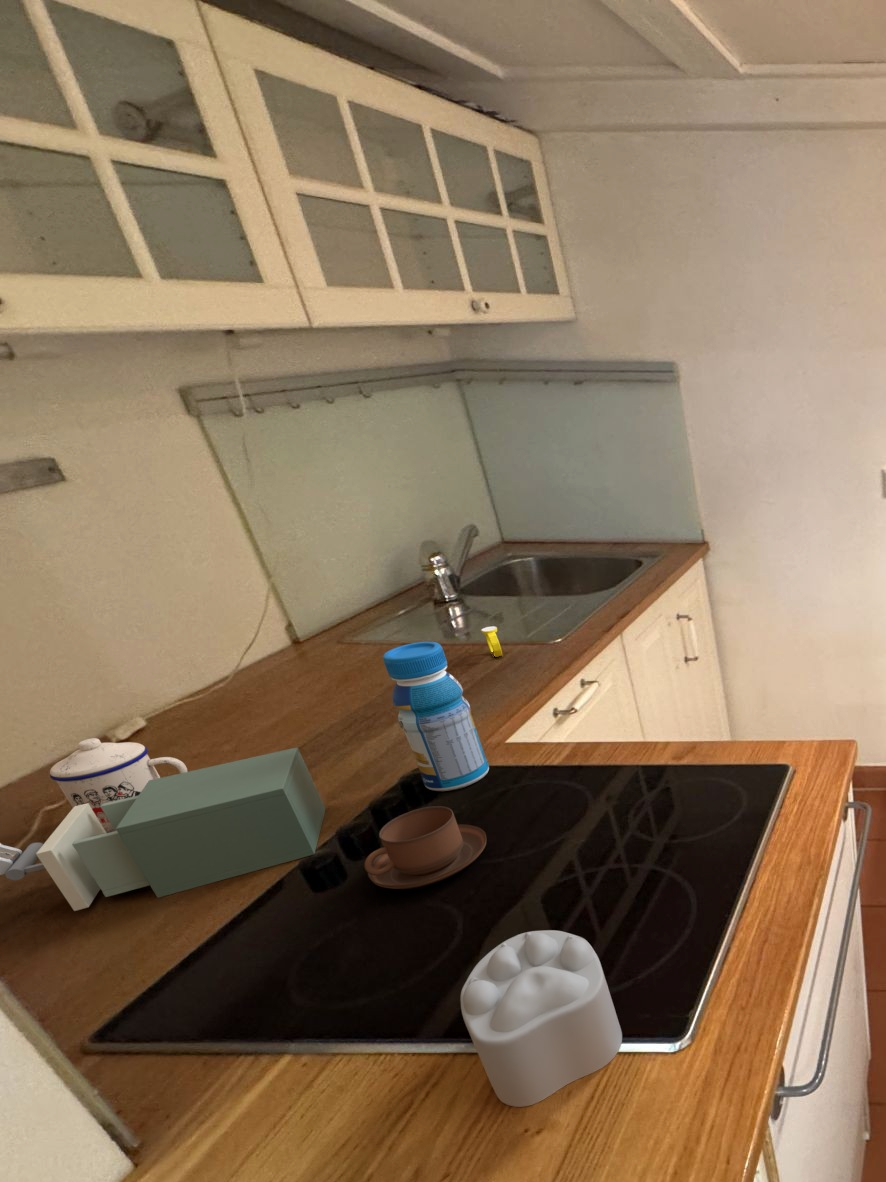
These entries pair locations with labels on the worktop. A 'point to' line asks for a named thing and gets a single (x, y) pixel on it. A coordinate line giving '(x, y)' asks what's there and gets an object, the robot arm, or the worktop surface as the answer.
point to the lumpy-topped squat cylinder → (540, 1015)
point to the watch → (492, 640)
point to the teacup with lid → (107, 774)
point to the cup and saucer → (423, 849)
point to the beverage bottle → (435, 717)
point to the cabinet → (223, 821)
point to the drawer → (85, 856)
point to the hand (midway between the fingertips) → (14, 863)
